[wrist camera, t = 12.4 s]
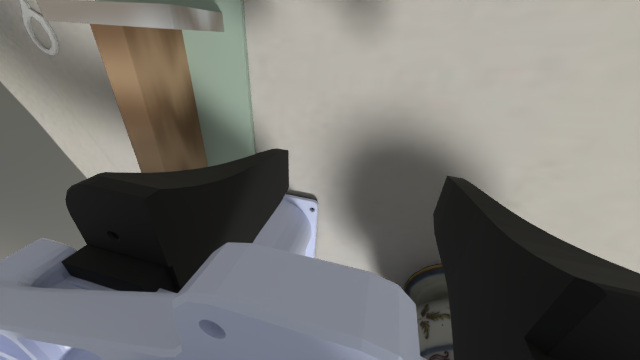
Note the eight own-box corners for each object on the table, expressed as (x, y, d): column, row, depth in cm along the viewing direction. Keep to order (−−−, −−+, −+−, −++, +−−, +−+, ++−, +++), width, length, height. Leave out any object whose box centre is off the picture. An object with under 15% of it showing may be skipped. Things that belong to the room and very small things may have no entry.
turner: (241, 172, 25) (209, 199, 20) (156, 156, 26) (111, 178, 22) (222, 12, 18) (169, 4, 14) (111, 7, 20) (35, -2, 16)
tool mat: (257, 178, 25) (255, 180, 25) (149, 158, 27) (146, 159, 27) (242, -6, 17) (239, -7, 17) (96, -11, 20) (91, -12, 20)
